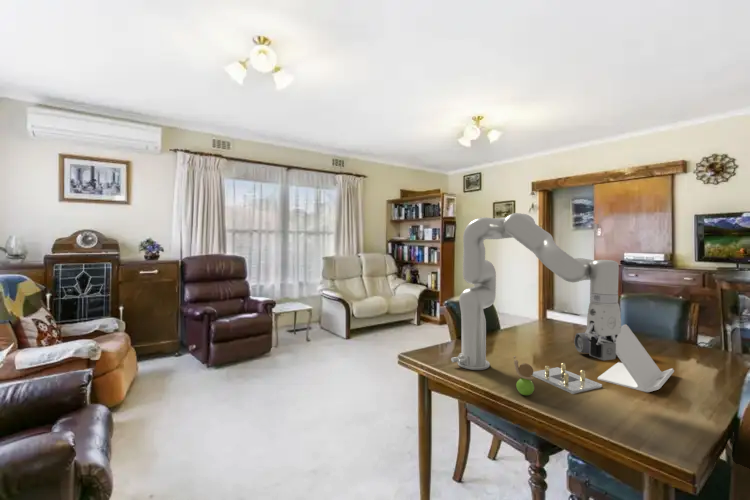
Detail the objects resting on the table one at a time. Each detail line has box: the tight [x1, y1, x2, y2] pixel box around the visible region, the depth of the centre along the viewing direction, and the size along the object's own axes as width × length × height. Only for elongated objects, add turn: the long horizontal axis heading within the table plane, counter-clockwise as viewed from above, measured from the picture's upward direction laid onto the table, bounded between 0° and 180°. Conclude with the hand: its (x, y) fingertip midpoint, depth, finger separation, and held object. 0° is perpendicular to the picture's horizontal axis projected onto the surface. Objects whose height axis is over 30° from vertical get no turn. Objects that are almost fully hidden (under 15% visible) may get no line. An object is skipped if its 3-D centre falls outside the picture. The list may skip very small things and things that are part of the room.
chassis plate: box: [532, 362, 603, 395], centre depth 129 cm, size 14×18×4 cm
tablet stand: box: [597, 324, 675, 393], centre depth 131 cm, size 18×25×17 cm
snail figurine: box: [513, 355, 535, 396], centre depth 118 cm, size 5×6×12 cm
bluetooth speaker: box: [573, 332, 638, 358], centre depth 157 cm, size 23×9×10 cm, turn 84°
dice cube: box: [588, 339, 617, 361], centre depth 114 cm, size 5×5×5 cm
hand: (602, 354), depth 115 cm, fingers closed on dice cube, 5 cm apart
